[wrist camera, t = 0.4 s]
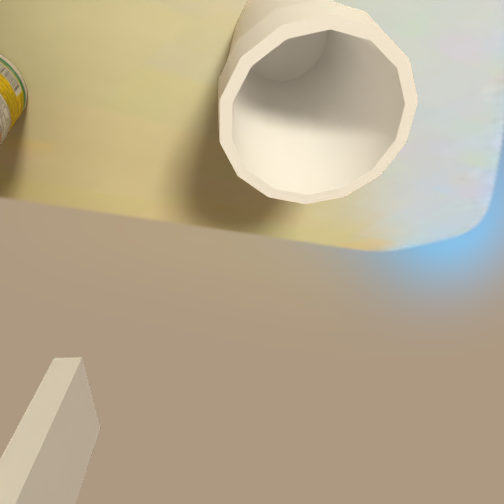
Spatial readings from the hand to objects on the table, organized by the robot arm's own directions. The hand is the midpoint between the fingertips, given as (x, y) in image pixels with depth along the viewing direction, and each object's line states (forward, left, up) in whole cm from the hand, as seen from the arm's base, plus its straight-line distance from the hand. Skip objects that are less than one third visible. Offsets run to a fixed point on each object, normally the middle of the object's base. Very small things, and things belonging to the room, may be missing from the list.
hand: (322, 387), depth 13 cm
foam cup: (-2, +1, -27) cm, 27 cm away
